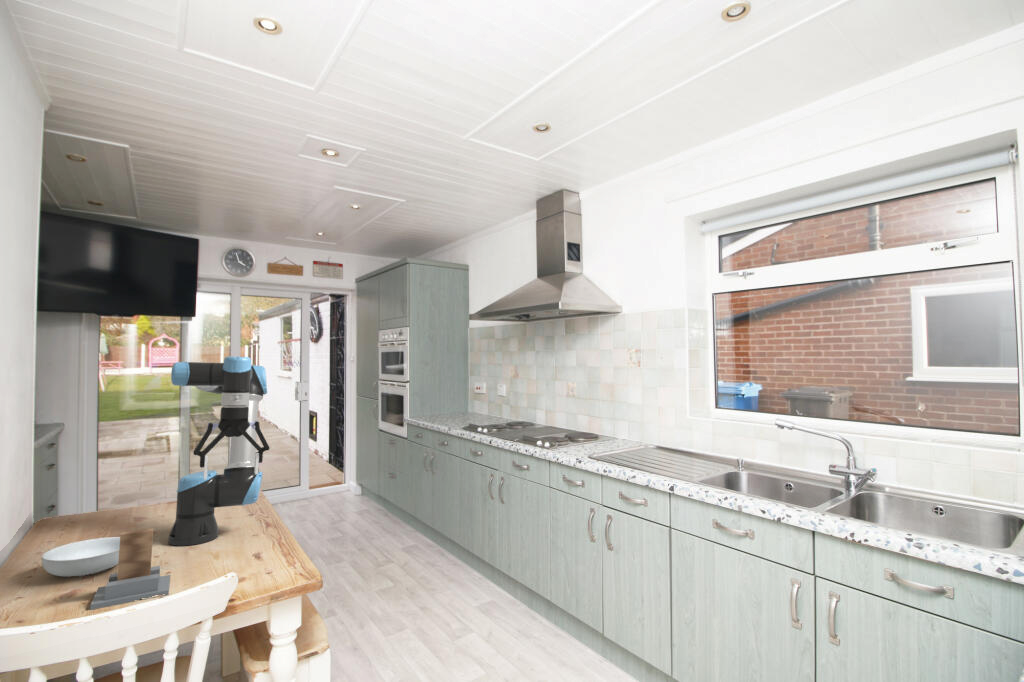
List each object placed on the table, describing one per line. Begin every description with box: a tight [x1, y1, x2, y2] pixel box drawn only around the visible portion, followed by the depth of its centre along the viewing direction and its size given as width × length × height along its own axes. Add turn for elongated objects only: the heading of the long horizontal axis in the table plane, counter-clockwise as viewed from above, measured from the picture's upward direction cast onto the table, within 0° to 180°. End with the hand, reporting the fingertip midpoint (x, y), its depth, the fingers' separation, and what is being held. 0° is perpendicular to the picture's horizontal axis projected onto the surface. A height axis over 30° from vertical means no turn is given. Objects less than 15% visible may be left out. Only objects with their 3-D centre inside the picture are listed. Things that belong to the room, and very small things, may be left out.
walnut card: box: [117, 527, 154, 581], centre depth 131 cm, size 7×2×15 cm, turn 124°
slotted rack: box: [89, 565, 171, 610], centre depth 131 cm, size 16×12×5 cm
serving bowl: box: [41, 536, 120, 577], centre depth 145 cm, size 21×21×7 cm
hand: (231, 475), depth 149 cm, fingers open, 13 cm apart
